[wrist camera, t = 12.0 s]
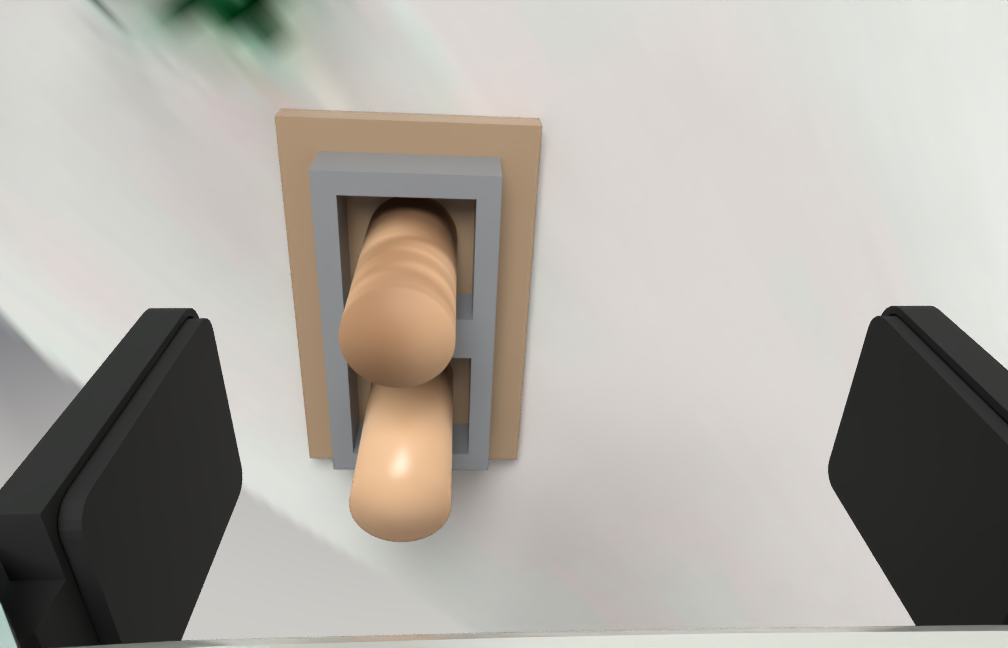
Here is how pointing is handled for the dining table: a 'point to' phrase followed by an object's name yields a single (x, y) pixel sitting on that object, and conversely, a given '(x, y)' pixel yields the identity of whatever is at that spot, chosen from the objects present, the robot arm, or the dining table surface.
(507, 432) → the housing
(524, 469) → the dining table surface
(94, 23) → the dining table surface
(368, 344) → the switch lever
